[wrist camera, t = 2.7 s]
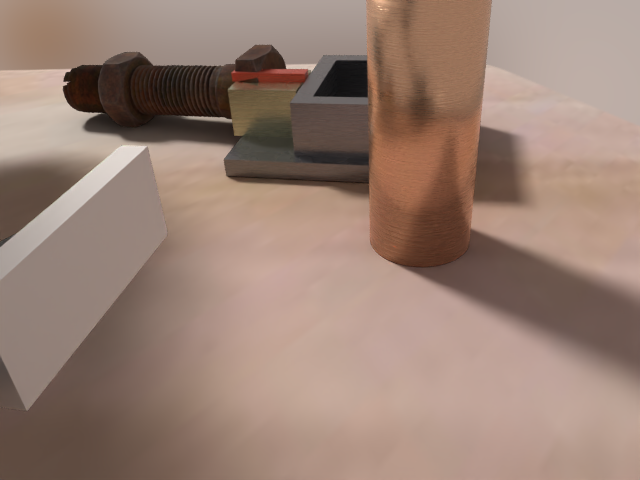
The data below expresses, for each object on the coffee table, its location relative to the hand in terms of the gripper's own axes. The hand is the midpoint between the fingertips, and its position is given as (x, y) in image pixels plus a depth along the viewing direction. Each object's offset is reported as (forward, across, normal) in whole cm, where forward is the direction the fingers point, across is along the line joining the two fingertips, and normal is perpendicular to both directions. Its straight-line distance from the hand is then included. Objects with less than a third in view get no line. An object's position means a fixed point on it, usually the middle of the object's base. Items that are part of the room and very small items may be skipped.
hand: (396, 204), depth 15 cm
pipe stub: (+10, 0, -7) cm, 12 cm away
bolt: (+22, -17, -8) cm, 29 cm away
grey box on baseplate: (+20, -5, -7) cm, 22 cm away
